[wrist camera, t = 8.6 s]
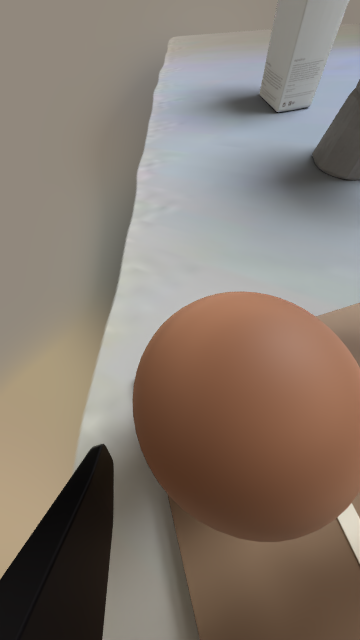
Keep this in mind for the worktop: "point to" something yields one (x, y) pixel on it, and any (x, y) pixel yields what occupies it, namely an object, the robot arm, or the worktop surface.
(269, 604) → the walnut board
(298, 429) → the wooden pin
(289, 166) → the worktop surface
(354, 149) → the coffeepot
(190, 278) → the worktop surface
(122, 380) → the worktop surface
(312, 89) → the skincare box
